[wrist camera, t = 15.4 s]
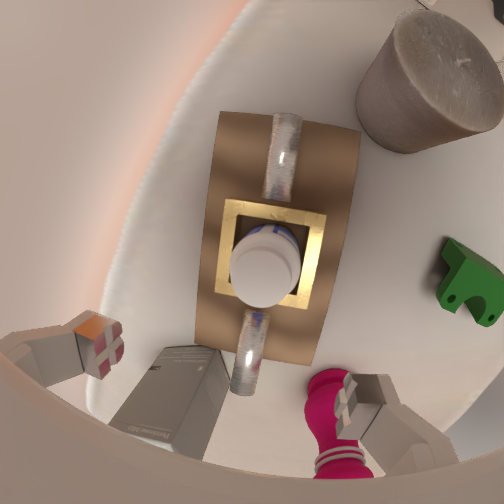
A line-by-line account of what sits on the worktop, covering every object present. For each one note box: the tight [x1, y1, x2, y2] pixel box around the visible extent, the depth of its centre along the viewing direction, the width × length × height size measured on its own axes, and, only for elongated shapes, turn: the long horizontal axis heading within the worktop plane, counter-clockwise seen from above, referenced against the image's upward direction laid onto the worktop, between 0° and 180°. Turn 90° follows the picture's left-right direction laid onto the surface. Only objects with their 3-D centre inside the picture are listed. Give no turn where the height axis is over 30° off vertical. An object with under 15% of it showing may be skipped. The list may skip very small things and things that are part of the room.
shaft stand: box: [194, 111, 361, 396], centre depth 24 cm, size 26×14×9 cm, turn 172°
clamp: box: [436, 238, 504, 327], centre depth 23 cm, size 12×6×9 cm, turn 65°
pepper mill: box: [304, 369, 374, 479], centre depth 22 cm, size 7×7×20 cm
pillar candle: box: [356, 9, 504, 154], centre depth 16 cm, size 10×10×15 cm
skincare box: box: [108, 346, 230, 461], centre depth 26 cm, size 8×7×16 cm
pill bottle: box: [229, 223, 301, 308], centre depth 22 cm, size 5×5×10 cm
